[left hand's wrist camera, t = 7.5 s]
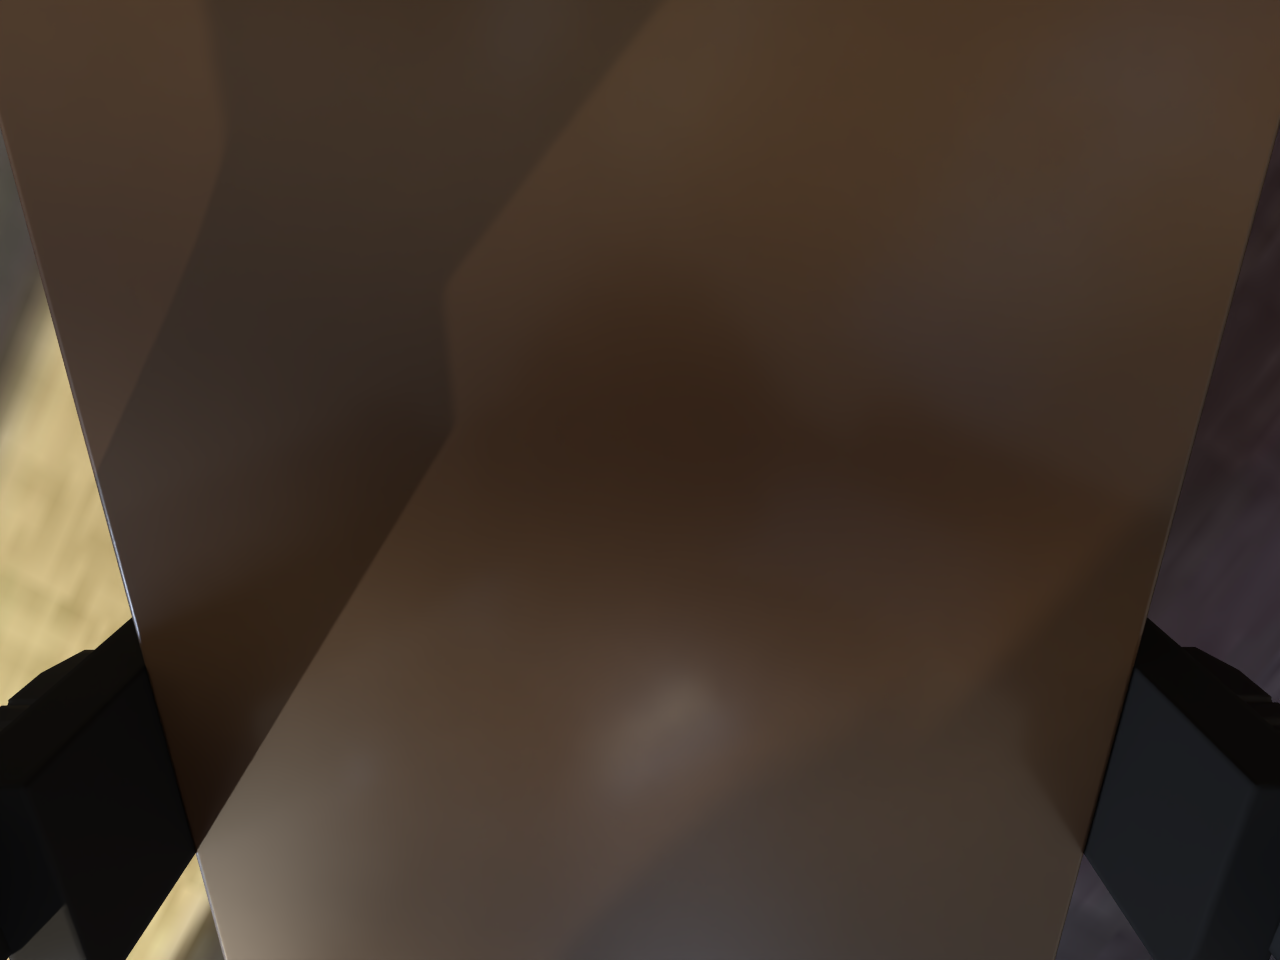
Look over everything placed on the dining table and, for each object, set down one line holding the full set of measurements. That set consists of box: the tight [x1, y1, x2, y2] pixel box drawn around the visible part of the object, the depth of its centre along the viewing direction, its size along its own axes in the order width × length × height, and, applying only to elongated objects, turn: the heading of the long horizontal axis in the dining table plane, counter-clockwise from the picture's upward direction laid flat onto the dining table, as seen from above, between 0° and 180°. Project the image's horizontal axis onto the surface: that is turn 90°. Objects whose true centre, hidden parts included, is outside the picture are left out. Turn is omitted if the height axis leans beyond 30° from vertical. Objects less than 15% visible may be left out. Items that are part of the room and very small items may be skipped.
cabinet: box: [0, 0, 1280, 960], centre depth 11 cm, size 18×11×8 cm, turn 0°
